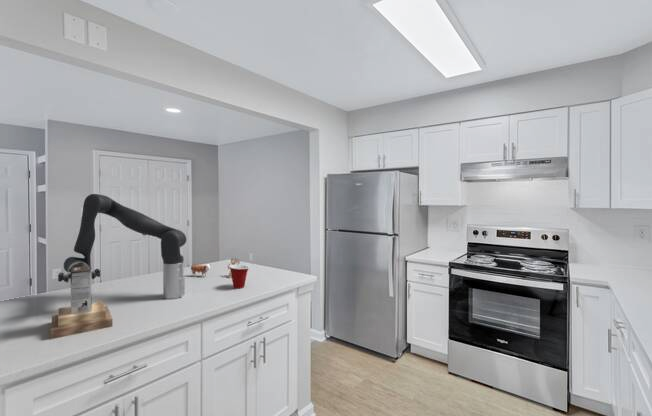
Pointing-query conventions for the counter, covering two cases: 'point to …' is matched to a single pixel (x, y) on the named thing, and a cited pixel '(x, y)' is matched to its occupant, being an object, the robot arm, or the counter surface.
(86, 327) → the plinth
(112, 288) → the counter surface
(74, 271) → the coffee box
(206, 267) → the bull figurine
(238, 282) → the plastic cup
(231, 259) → the tan wooden handled piece
